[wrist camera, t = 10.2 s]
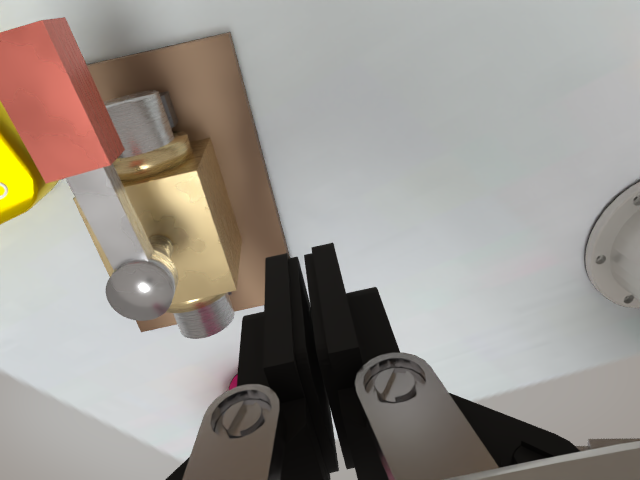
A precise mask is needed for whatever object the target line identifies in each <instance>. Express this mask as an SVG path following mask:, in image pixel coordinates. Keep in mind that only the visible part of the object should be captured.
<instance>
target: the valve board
mask: <svg viewBox="0 0 640 480" xmlns="http://www.w3.org/2000/svg"><path fill="white" fill-rule="evenodd" d="M87 67H88V69H89V71H90V74H91V76H92V78H93V80H94V82H95V85H96V87H97V89H98V91H99V94H100V96H101V98H102V100H103V102H105V101H108V100H111V99H115V98H118V97H122V96H126V95H130V94H134V93H139V92H144V91H152V90H157V91H158V92H159V93H162V92H167V91H168V92H169V95H170V98H171V101H172V104H173V107H174V109H175V112H176V115H177V118H178V123H177V124H176V126H175V127H172V128H171V129H172V131H183V132H186V133H187V135H188V138H189V141H190V142H193V141H197V140H202V139H206V138H211V142H212V145H213V148H214V151H215V155H216V158H217V161H218V164H219V167H220V171H221V174H222V177H223V180H224V184H225V187H226V190H227V193H228V196H229V200H230V203H231V206H232V209H233V213H234V216H235V219H236V222H237V225H238V229H239V232H240V235H241V238H242V246H241V255H240V264H239V272H238V281H237V290H236V291H232V295H229V298H230V301H231V304H232V306H233V309H234V311H239V310H243V309H248V308H253V307H257V306H262V305H264V304H265V259H266V258H267V257H271V256H276V255H280V254H285V253H288V255H289V252H288V248H287V245H286V241H285V237H284V233H283V229H282V226H281V222H280V218H279V214H278V211H277V207H276V203H275V199H274V196H273V192H272V188H271V184H270V180H269V177H268V173H267V169H266V165H265V162H264V158H263V154H262V150H261V147H260V143H259V139H258V135H257V131H256V128H255V124H254V120H253V116H252V113H251V109H250V105H249V101H248V97H247V94H246V90H245V86H244V82H243V79H242V75H241V71H240V67H239V64H238V60H237V56H236V52H235V48H234V45H233V41H232V37H231V33H230V32H229V33H224V34H220V35H216V36H211V37H207V38H202V39H198V40H194V41H189V42H185V43H181V44H176V45H172V46H167V47H163V48H159V49H154V50H150V51H145V52H141V53H137V54H132V55H128V56H124V57H119V58H115V59H110V60H106V61H102V62H97V63H93V64H89V65H87ZM289 258H290V256H289ZM136 322H137V324H138V326H139V328H140V330H141V332H144V331H149V330H153V329H158V328H162V327H167V326H171V325H176V324H177V322H176V319H175V317H174V315H173V313H168V312H165V313H164V314H163V315H161V316H160V317H158V318H155V319H152V320H146V321H138V320H136Z"/></svg>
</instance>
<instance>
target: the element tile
mask: <svg viewBox="0 0 640 480" xmlns="http://www.w3.org/2000/svg"><path fill="white" fill-rule="evenodd" d="M58 181H59V180H57V181H53V182H50V183H45V181H44V179H43V177H42V176H41V174H40V172H39V170H38V168H37V166H36V165H35V163H34V161H33V159H32V157H31V155H30V154H29V152H28V150H27V148H26V146H25V145H24V143H23V141H22V139H21V137H20V135H19V134H18V132H17V130H16V128H15V126H14V124H13V123H12V121H11V119H10V117H9V115H8V114H7V112H6V110H5V108H4V106H3V104H2V103H1V101H0V224H2V223H4V222H6V221H8V220H10V219H12V218H15V217H17V216H19V215H21V214H23V213H25V212H27V211H28V210H29V209H31V208H32V207H33V206H34V205H35V204H36V203H37V202H38V201H39V200H41V199H42V198H43V197H44V196H45V195H46V194H47V193H48V192H49V191H51V190H52V189H53V188H54V186H55V185H56V183H57V182H58Z"/></svg>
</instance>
